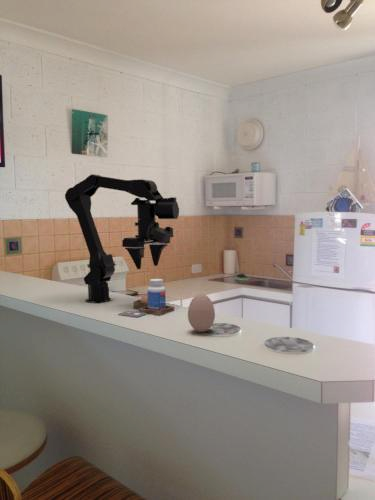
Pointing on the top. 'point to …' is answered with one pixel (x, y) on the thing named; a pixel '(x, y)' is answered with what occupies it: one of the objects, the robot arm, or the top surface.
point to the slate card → (132, 314)
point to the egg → (201, 313)
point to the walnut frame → (139, 304)
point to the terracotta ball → (144, 299)
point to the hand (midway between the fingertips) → (147, 267)
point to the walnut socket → (154, 312)
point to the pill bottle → (156, 295)
